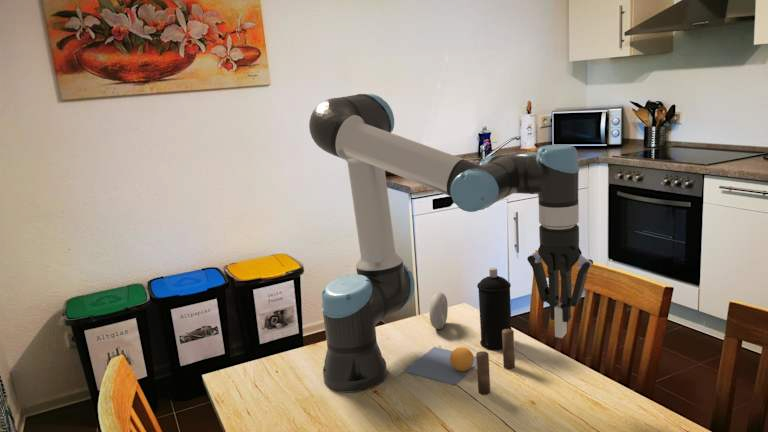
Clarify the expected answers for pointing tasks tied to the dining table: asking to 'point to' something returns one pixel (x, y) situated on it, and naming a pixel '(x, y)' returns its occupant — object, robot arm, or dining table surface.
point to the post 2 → (508, 348)
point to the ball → (461, 359)
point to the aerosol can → (494, 309)
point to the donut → (438, 310)
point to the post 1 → (483, 372)
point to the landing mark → (438, 367)
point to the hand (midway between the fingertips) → (560, 334)
